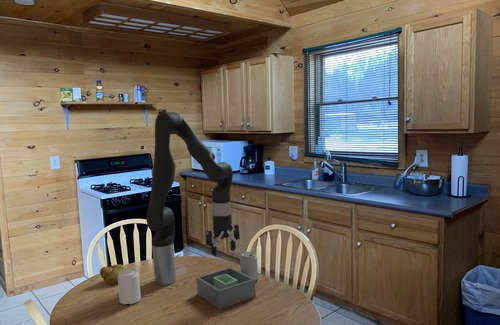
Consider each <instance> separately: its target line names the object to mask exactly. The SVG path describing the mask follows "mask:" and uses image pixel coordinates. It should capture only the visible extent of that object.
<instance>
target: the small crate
mask: <svg viewBox="0 0 500 325" xmlns="http://www.w3.org/2000/svg"><path fill="white" fill-rule="evenodd" d="M213 282H214V287H216V288H217V289H219V290H221V289H224V288H227V287H230V286H233V285H236V284H238V280H237V279H235V278H233V277H231V276H229V275H227V274H224V275H220V276H217V277H214V278H213Z"/></svg>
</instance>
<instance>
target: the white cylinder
mask: <svg viewBox="0 0 500 325" xmlns="http://www.w3.org/2000/svg"><path fill="white" fill-rule="evenodd" d="M126 269H127V270H123V271H121V272H119V275H118V284H117V286H118V296H119V300H118V301H119V303H120V304H121V305H125V304H130V305H134V304H136V303H138V302H140V300H141V299H142V298H141V295H142V294H141V282H140V274H139V271H138V269H135V268H126ZM133 303H134V304H133Z"/></svg>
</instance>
